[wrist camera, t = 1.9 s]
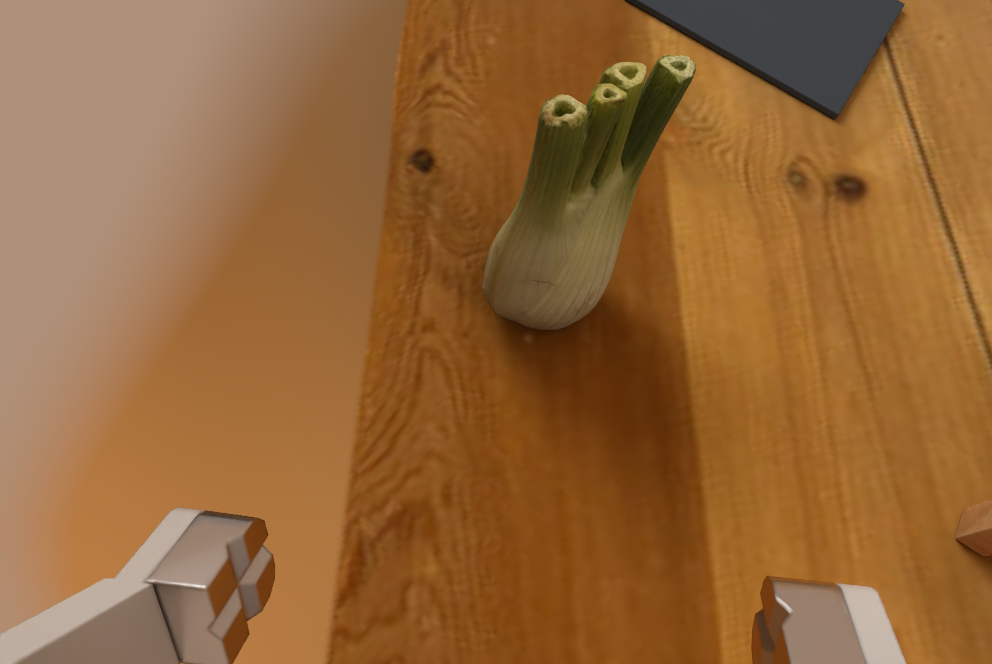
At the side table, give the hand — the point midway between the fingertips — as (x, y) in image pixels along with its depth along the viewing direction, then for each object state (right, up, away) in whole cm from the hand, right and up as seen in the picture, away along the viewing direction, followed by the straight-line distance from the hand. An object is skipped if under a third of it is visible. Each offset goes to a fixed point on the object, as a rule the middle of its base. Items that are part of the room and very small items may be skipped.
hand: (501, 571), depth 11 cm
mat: (+17, +24, +32) cm, 43 cm away
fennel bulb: (+2, +5, +19) cm, 20 cm away
